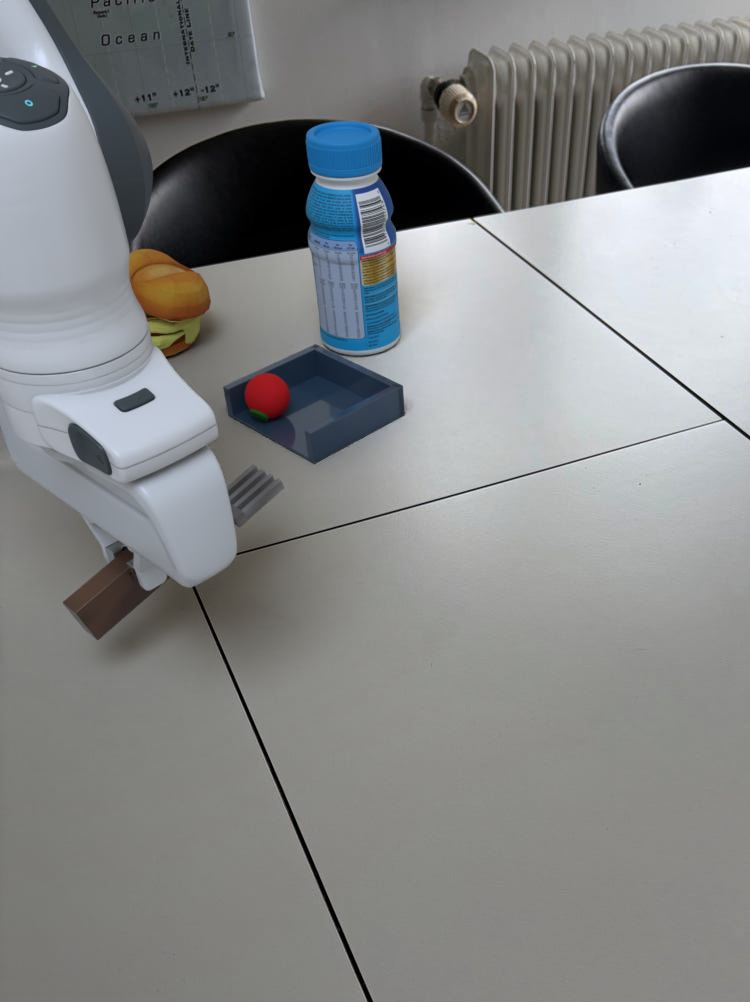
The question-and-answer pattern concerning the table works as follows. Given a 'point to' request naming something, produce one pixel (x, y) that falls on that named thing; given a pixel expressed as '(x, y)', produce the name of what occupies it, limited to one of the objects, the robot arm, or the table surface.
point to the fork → (119, 594)
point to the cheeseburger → (168, 298)
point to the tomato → (267, 396)
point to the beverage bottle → (352, 239)
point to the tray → (321, 403)
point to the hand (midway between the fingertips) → (137, 572)
